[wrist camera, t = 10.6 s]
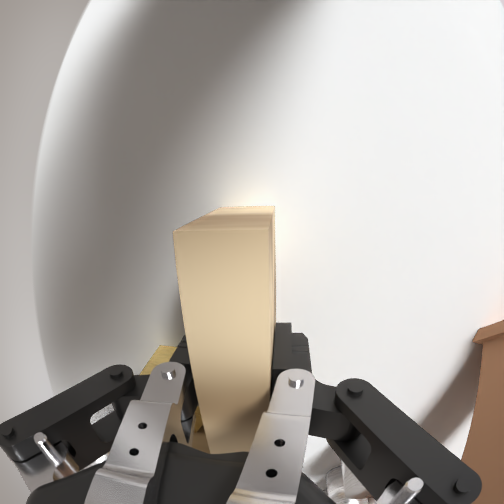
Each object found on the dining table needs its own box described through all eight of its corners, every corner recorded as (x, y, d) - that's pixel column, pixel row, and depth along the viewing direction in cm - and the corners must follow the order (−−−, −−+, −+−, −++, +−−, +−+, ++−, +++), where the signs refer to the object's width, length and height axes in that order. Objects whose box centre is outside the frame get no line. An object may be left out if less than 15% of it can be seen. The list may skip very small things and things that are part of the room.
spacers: (98, 399, 18) (62, 447, 12) (385, 419, 16) (405, 485, 10) (143, 480, 21) (126, 519, 16) (347, 497, 19) (351, 541, 13)
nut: (142, 342, 16) (119, 371, 13) (219, 349, 15) (206, 384, 12) (156, 392, 17) (139, 422, 14) (225, 401, 16) (216, 436, 13)
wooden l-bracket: (107, 214, 14) (26, 238, 8) (277, 205, 13) (273, 229, 7) (151, 410, 17) (119, 470, 12) (276, 424, 16) (271, 497, 11)
